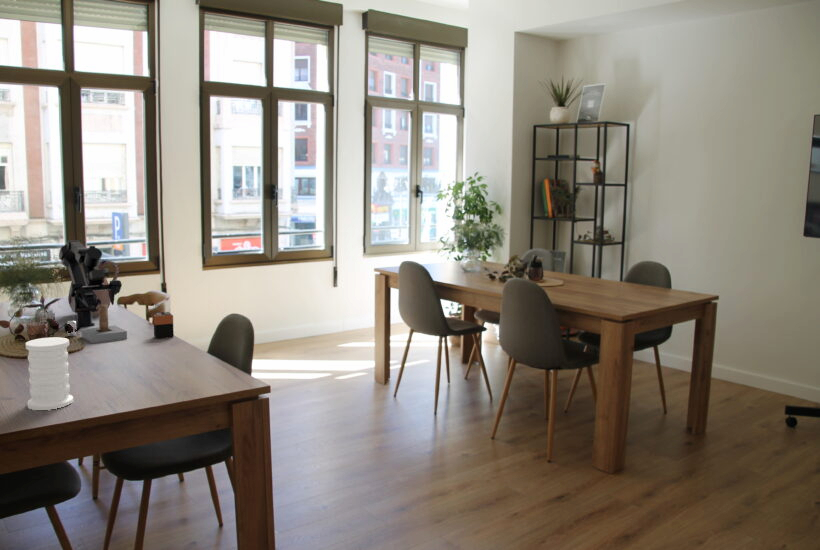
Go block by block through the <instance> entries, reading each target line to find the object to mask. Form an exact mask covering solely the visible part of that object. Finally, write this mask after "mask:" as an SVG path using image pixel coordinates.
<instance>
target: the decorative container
mask: <svg viewBox="0 0 820 550" xmlns="http://www.w3.org/2000/svg"><path fill="white" fill-rule="evenodd" d="M69 346H70V340H69V339H68V337H67V338H65V337H54V336H53V337H51V336H50V337H41V338H40V337H39V338H35V339H31V340H28V341H26V342H25V349H26V350H27V351H28V354H27V361H28V362H29V365H28V368H27V369H28V372H29V378H28V381H29V382H28V383H29V384H30V387H29V394H30V397H31V398H30V399H29V400H28V401H27V404H26V405H27V409H29V410H31V409H32V411H36V410H48V411H52V410H51V409H56V410H58V409H57V408H61V407H64V406H66V405H69V404H70V403H72V402H73V403H74V396H73V395H72V394H70V389H71V386H70V383H69V380H70V374H69V370H68V369H69V367H70V364H69V362H68V358H69V352H68V348H67V347H69ZM73 403H72V404H73ZM69 406H70V405H69ZM64 408H65V407H64ZM61 409H62V408H61Z"/></svg>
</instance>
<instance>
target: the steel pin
mask: <svg viewBox="0 0 820 550" xmlns="http://www.w3.org/2000/svg"><path fill="white" fill-rule="evenodd" d="M76 323H77V320H67V321H66V324H70V325H71V326H72V327H73V332H71V333H68V332H67V337H68V336H76V335H77V334H78V333H77V332H78V331H76V332H75V329H76V330H77V326H76ZM76 337H77V336H76Z"/></svg>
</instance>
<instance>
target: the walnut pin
mask: <svg viewBox="0 0 820 550" xmlns="http://www.w3.org/2000/svg"><path fill="white" fill-rule="evenodd" d="M108 309H109V308H108V306H107V305H99V316H98V321H99V322H98V326H99V327H98V328H100V332H107V331H108V326H109V312H108Z"/></svg>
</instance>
